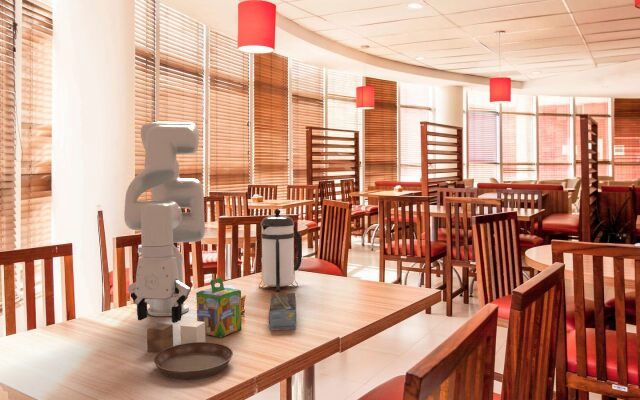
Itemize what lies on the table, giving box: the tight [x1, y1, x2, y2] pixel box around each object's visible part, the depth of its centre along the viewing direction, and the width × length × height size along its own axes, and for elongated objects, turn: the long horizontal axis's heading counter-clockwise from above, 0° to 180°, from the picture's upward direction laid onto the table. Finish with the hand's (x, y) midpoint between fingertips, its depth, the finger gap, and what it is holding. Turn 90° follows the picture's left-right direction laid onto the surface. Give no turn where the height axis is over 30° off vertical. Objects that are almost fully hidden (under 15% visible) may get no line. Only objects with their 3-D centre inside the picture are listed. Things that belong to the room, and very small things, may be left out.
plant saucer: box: [153, 341, 234, 380], centre depth 119 cm, size 18×18×3 cm
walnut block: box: [146, 322, 174, 354], centre depth 130 cm, size 4×4×6 cm
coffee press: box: [258, 208, 303, 293], centre depth 197 cm, size 17×16×30 cm
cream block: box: [179, 320, 206, 344], centre depth 132 cm, size 4×4×6 cm
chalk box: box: [196, 277, 242, 338], centre depth 144 cm, size 9×9×15 cm
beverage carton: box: [268, 292, 297, 331], centre depth 154 cm, size 8×19×7 cm, turn 3°
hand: (159, 320), depth 129 cm, fingers open, 9 cm apart
